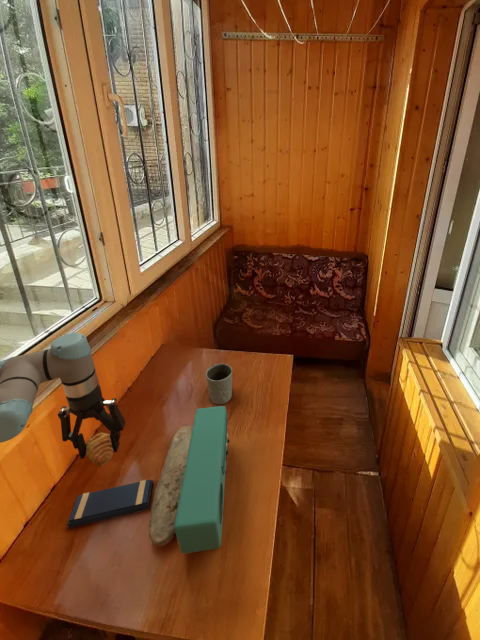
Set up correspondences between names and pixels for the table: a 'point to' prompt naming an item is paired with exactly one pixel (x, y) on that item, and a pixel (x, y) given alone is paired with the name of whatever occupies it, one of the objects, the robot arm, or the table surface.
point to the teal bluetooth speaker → (203, 483)
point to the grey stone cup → (220, 383)
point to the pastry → (99, 449)
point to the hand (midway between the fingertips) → (100, 450)
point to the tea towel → (111, 503)
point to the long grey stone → (169, 488)
